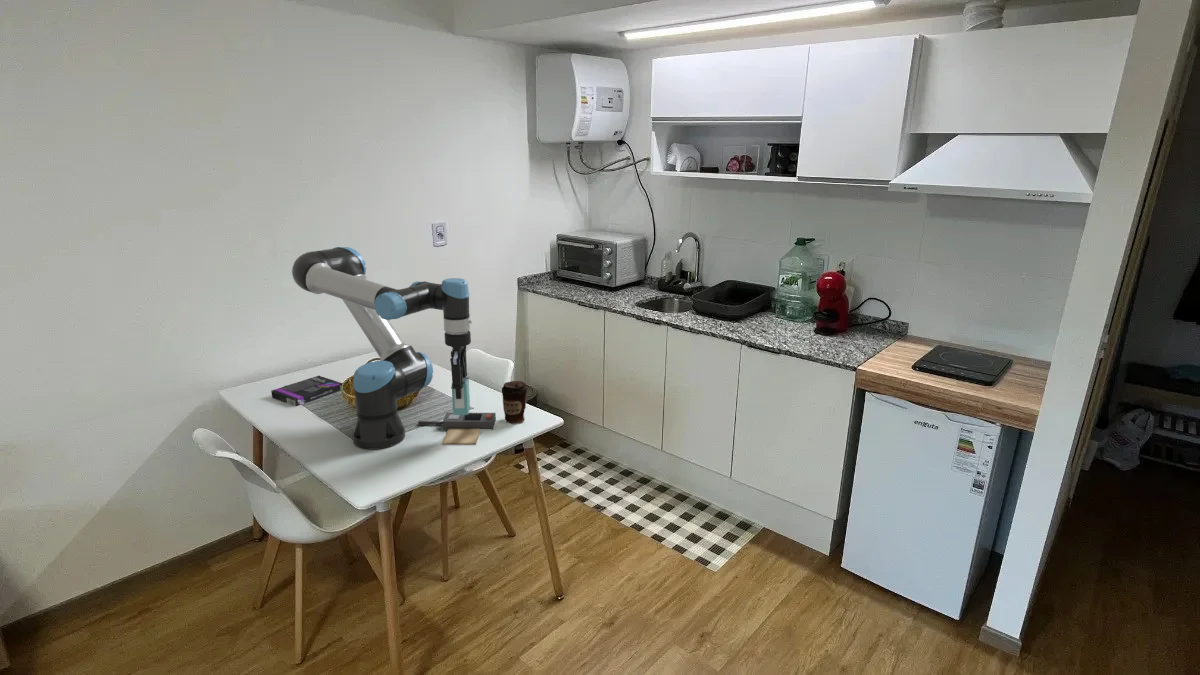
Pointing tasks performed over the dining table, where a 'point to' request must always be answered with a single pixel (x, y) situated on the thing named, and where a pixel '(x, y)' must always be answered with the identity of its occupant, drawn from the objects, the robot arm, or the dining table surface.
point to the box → (306, 390)
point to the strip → (465, 421)
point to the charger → (466, 399)
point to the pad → (462, 436)
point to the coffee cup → (514, 401)
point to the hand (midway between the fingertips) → (461, 404)
